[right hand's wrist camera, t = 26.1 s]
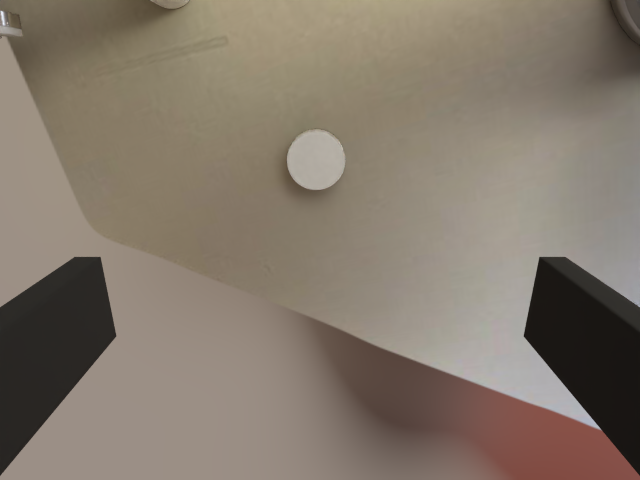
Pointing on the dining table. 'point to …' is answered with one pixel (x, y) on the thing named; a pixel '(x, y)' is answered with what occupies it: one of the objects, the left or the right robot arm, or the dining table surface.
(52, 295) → the right robot arm
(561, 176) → the dining table surface
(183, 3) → the white tall cylinder
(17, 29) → the left robot arm
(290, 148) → the lid
